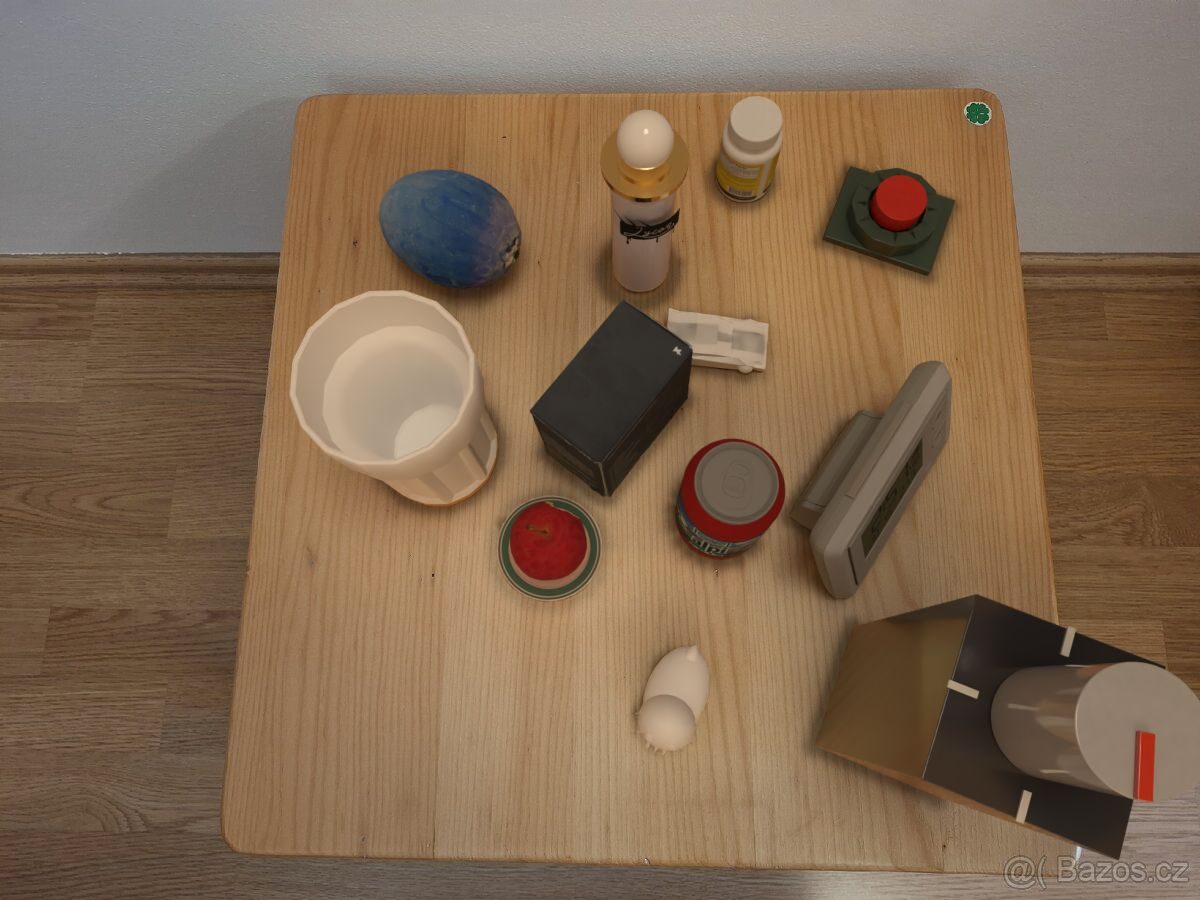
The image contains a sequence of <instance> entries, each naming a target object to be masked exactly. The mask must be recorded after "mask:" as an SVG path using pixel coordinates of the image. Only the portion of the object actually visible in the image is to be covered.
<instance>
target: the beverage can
mask: <svg viewBox="0 0 1200 900" xmlns="http://www.w3.org/2000/svg"><path fill="white" fill-rule="evenodd" d="M785 499H786V482H785V478H784V474H783V471H782V468H781V467H780V465H779V464H778V462H777V460H776V459H775V458H774V457H773V455H771V454H770V452H768V451H767V450H766V449H765V448H763V447H762V446H760V445H758V444H756V443H754V442H752V441H750V440H746V439H742V438H731V437H730V438H723V439H718V440H715V441H712V442H710V443H708V444H706V445H705V446H703V447H702V448H700V449H699V450H697V451H696V452H695V454H694V455H693V456H692V457H691V459H689V462H688V463H687V465H686V466H685V470H684V473H683V476H682V479H681V482H680V486H679V490H678V493H677V498H676V503H675V507H674V521H675V526H676V529H677V531H678V533H679V536H680V538H681V539H682V540H683V542H684V543H685V544H686V545H687V546H688V547H689V548H690V549H691V550H693V551H694V552H695V553H697V554H698V555H700V556H703V557H706V558H709V559H713V560H727V559H732V558H735V557H738V556H740V555H743V554H744V553H745V552H747V551H748V550H750V549H751V548H752V547H753V546H754V545H755V544H756V543H757V542H758V541H759V540H760V538H762V536H763V535H764V534H765V533H766V532H767V531H768V530H769V529H770V527H771V526H772V525H773V523H774V522H775V521H776V519H778V517H779V515H780V513H781V511H782V510H783V506H784V504H785Z"/></svg>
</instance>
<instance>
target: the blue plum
mask: <svg viewBox="0 0 1200 900" xmlns="http://www.w3.org/2000/svg"><path fill="white" fill-rule="evenodd" d="M378 222H379V225H380V229H381V233H382V236H383V238H384V240H385V242H386V244H387V245H388V247H389V249H390V250H391V251H392V252H393V254H394V255H395V256H396V258H397V259H399V260H400V261H401V263H403V264H404V265H405V266H406V267H407V268H409V269H410V270H411V271H412V272H414V273H415V274H416V275H419V276H420V277H422V278H423V279H425V280H428V281H429V282H432V283H434V284H435V285H439V286H441V287H444V288H449V289H452V290H475V289H479V290H482V289H483V288H485V287H487V286H489V285H492V284H493V283H495V282H496V281H499V280H501V279H503V278H504V277H506V276H507V275H508V274H509V273H510V271H511V270H512V269H513V266H515V263H516V262H517V260H518V258H519V257H520V252H521V245H522V237H523V236H522V235H523V234H522V229H521V227H520V224H519V221H518V219H517V216H516V213H515V210H514V208H513V206H512V205H511V204H510V202H509V201H508V199H507V197H506V196H504V194H503V193H502V192H501V191H500V190H498V189H497V188H496V187H494V186H493V185H492V184H490V183H488V182H486V181H485V180H483V179H481V178H480V177H478V176H475V175H473V174H469V173H466V172H462V171H459V170H453V169H441V168H436V169H428V170H427V169H425V170H420V171H419V170H418V171H415V172H411V173H409V174H406V175H404V176H402V177H399V178H398V179H397V180H395V181H394V182H393V183H392V184H391V185H390V186H389V187H388V188H387V189H386V191H385V192H384V194H383V196H382V198H381V200H380V203H379V210H378ZM551 277H553V274H551Z"/></svg>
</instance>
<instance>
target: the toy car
mask: <svg viewBox="0 0 1200 900" xmlns="http://www.w3.org/2000/svg"><path fill="white" fill-rule="evenodd" d="M666 324H667V325H666V327H667V328H668V329H669V330H670V331H671V332H673V333H675V334H676V335H677V336H679V337H680V338H681V339H683V340H684V341H686V342H688V343H689V344H691V345H692V349H693V354H692V364H691V366H700V367H709V368H719V369H728V370H738V372H740V373H742V374H750V373H751V372H752V371H753V370H755V371H759V372H762V371H763V370H766V365H767V354H768V351H767V346H768V341H769V340H768V338H769V328H770V323H768V322H767V323H766V322H762V321H757V320H754V319H752V318H745V319H741V318H737V317H736V318H735V317H729V316H723V315H719V314H718V315H717V314H708V313H702V312H694V311H693V312H692V311H684V310H683V311H682V310H677V309H674V308H672V307H668V314H667V323H666Z"/></svg>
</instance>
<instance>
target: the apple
mask: <svg viewBox="0 0 1200 900" xmlns="http://www.w3.org/2000/svg"><path fill="white" fill-rule="evenodd" d="M601 533H602V532H601V530H600V528H599V525H598V523H597V521H596V520H595V518H594V517H593V515H592V513H590V512H589V511H588V510H587V509H586V508H585V507H584V506H583V505H582V504H580V503H579V502H577V501H575V500H573V499H570V498H568V497H564V496H559V495H541V496H537V497H533V498H530V499H528V500H526V501H524V502H523V503H521V504H519V505H518V506H516V507H515V508H514V509H513V510H512V511H511V512H510V513H509V515H507V517H506V518H505V520H504V521H503V523H502V525H501V527H500V530H499V532H498V535H497V539H496V540H497V541H496V560H497V563H498V566H499V567H498V568H499V569H500V570H501V573H502V575H503V578H504V579H505V581H507V582H508V584H509V585H510V586H511V587H512V588H513V589H514V590H516V591H517V592H519V593H520V594H521V595H523V596H525V597H527V598H530V599H533V600H536V601H540V602H541V601H542V602H555V601H561V600H564V599H568V598H570V597H573V596H575V595H576V594H578V593H579V592H581V591H582V590H583V589H585V587H587V586H588V584H589V583H591V581H592V580H593V578H594V577H595V575H596V573H597V572H598V569H599V567H600V564H601V562H602V556H603V539H602V534H601Z"/></svg>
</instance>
